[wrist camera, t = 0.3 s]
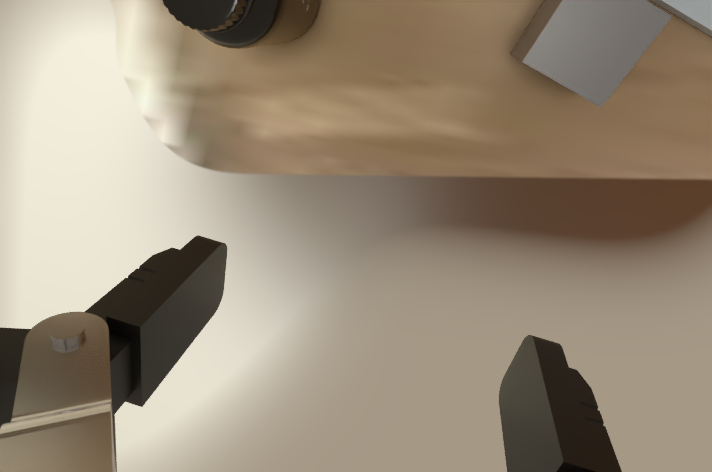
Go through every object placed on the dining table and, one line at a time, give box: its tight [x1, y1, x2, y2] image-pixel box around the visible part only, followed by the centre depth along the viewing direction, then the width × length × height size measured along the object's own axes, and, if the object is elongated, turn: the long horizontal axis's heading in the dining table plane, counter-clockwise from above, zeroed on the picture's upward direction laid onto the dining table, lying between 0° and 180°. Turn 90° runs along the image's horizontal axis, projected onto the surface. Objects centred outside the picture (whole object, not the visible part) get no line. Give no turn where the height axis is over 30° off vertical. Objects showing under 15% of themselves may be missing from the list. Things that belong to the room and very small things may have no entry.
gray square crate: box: [510, 0, 672, 107], centre depth 28 cm, size 6×6×6 cm
